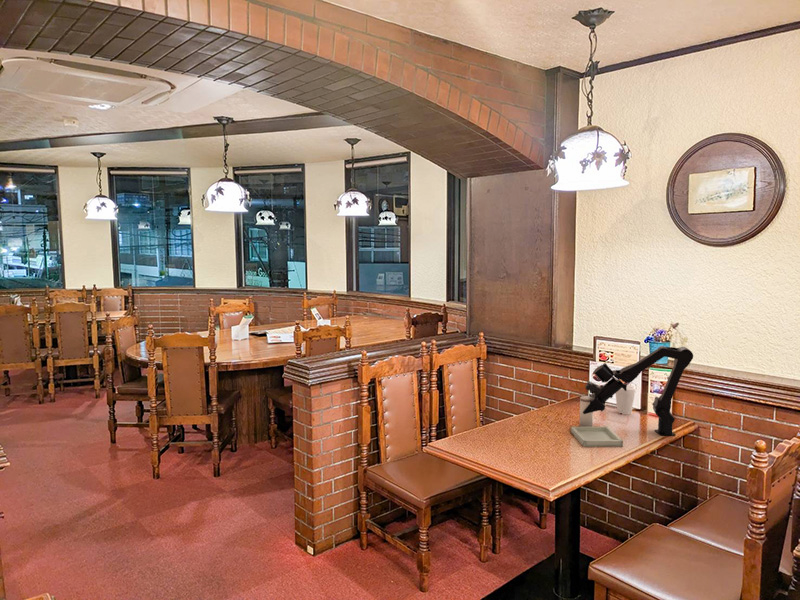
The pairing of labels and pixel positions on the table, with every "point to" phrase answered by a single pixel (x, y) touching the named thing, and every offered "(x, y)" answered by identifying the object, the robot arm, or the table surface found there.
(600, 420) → the table surface
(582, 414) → the tumbler
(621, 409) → the foam cup
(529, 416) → the table surface
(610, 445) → the tray
